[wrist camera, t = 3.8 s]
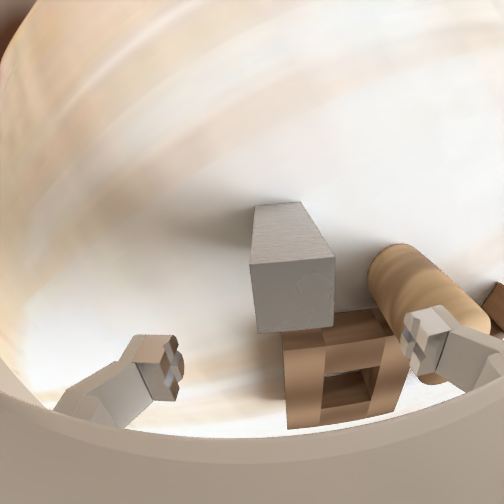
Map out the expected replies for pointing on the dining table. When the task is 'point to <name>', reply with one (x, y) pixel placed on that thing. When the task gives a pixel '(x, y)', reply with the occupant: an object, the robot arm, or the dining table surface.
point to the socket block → (342, 370)
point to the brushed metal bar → (290, 270)
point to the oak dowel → (418, 293)
